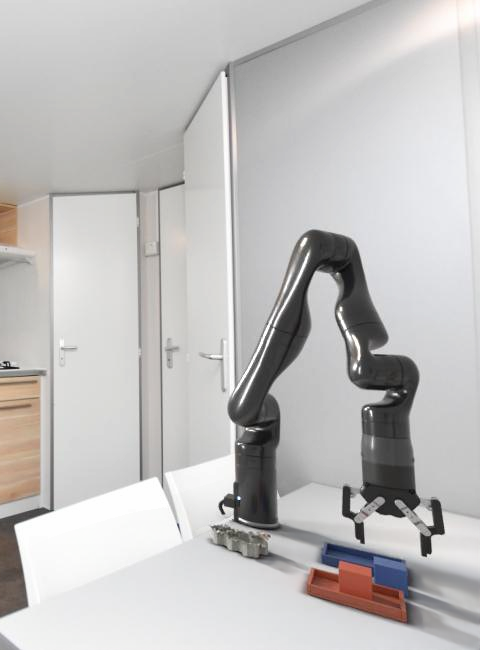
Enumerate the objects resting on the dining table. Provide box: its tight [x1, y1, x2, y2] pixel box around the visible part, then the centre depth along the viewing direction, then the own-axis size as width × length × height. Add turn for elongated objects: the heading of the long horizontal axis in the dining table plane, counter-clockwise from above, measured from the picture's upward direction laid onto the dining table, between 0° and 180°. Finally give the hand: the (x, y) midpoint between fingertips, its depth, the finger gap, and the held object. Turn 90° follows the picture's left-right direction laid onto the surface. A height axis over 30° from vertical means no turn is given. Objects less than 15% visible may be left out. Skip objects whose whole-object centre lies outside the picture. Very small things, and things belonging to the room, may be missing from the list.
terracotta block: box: [338, 561, 373, 601], centre depth 84 cm, size 4×4×4 cm
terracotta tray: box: [306, 566, 408, 623], centre depth 84 cm, size 13×9×2 cm
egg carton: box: [208, 523, 271, 559], centre depth 105 cm, size 11×8×4 cm
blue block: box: [373, 556, 409, 598], centre depth 88 cm, size 4×4×4 cm
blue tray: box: [320, 541, 409, 586], centre depth 97 cm, size 13×9×2 cm
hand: (392, 549), depth 88 cm, fingers open, 8 cm apart
